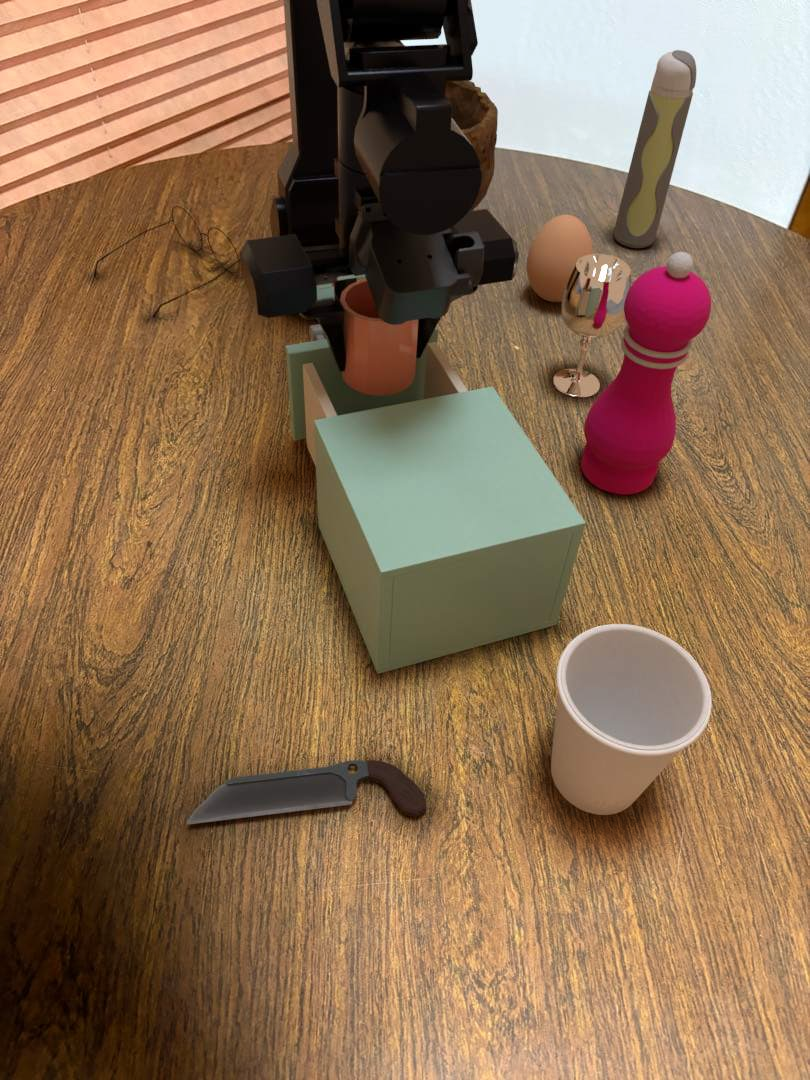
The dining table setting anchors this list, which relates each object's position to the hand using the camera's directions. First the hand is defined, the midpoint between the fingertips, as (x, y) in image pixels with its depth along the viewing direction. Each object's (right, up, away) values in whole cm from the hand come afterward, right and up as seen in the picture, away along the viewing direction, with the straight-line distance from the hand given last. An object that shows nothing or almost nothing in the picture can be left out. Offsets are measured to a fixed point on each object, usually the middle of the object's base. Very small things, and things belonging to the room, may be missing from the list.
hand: (378, 362), depth 66 cm
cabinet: (+4, -16, -1) cm, 17 cm away
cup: (0, -1, +1) cm, 1 cm away
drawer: (0, -6, +6) cm, 9 cm away
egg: (+18, +12, +26) cm, 33 cm away
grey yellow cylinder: (+29, +21, +35) cm, 50 cm away
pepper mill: (+20, -8, +8) cm, 23 cm away
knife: (-4, -29, -14) cm, 33 cm away
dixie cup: (+14, -28, -12) cm, 34 cm away
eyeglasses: (-23, +14, +25) cm, 37 cm away
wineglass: (+18, +1, +16) cm, 24 cm away
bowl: (+2, +22, +34) cm, 41 cm away
